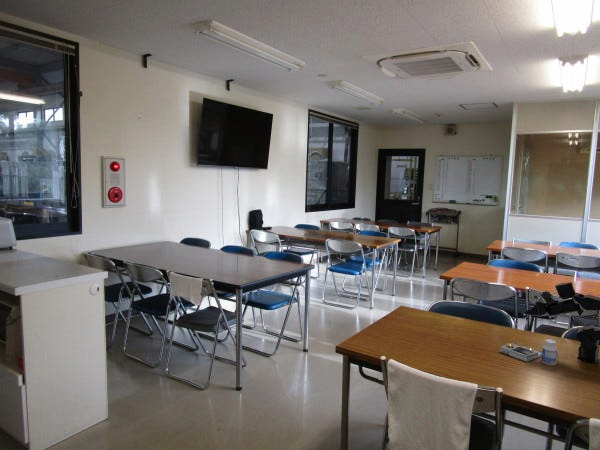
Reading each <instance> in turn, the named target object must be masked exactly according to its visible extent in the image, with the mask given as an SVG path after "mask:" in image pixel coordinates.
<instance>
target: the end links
mask: <svg viewBox="0 0 600 450" xmlns="http://www.w3.org/2000/svg"><path fill="white" fill-rule="evenodd" d="M499 353H501V354H505V355H507V356H509V357H513V358H515V359H517V360H521V361H524V362H529V361H533V360H536V359H538V358H542V352H540V351H538V350H536V349H535V348H533V347H526V346H521V345H518V344H515V343H512V342H511V343H510V342H507V343H505V344H504V345H501V346H499Z"/></svg>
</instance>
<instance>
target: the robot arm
mask: <svg viewBox="0 0 600 450" xmlns="http://www.w3.org/2000/svg"><path fill="white" fill-rule="evenodd" d="M554 288H555V289H556V292H557V294H558V296H559V298H560V299H562V300H561V301H559V300H556V299H555V298H554V297H553V295H552V293H551V292H550V291H548V290H545V291H542V293H540V297H541V298H542V299H544V301H545V302H544V301H541V300H539V301H538V300H537V301H535V304H534V306H533V307H531V308H529V309H527V310H526V311H524V316H525V315H526V316H530V317H531V318H535V319H541V320H546V321H547V320H548V321H557V319H558V318H559V317H558V316H564V315H565V316H566V314H571V313H577V314H578V316H579V317H581V316H582V314H583V313H584V311H600V297H598V296H596V295H591V294H582V293H580V292H576V290H575V288H574V284H573V282H572V281H570V282H562V283H558V284H555V285H554ZM576 339H577V341H579V342H580V344H579V347H578V352H577V360H581V361H584V362H587V363H591V364H595V363H598V362H600V358H599V355H600V354H599V353H600V347H599V346H598V345H599V342H600V327H599V328H598V327H596V326H595V324H591V325H583V326H581V327H580V328H579V329H578V331H577V333H576Z"/></svg>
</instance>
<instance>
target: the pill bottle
mask: <svg viewBox="0 0 600 450" xmlns="http://www.w3.org/2000/svg"><path fill="white" fill-rule="evenodd" d="M544 343H545V344H543V345H542V352H541V353H542V356H541V362H542V363H543V364H545V365H547V366H548V365H549V366H555V365H557V362H558V361H557V359H558V347H557V346H556V345H557V341H556V340H554V339H549V338H548V339H547V338H546V339H544Z"/></svg>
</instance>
